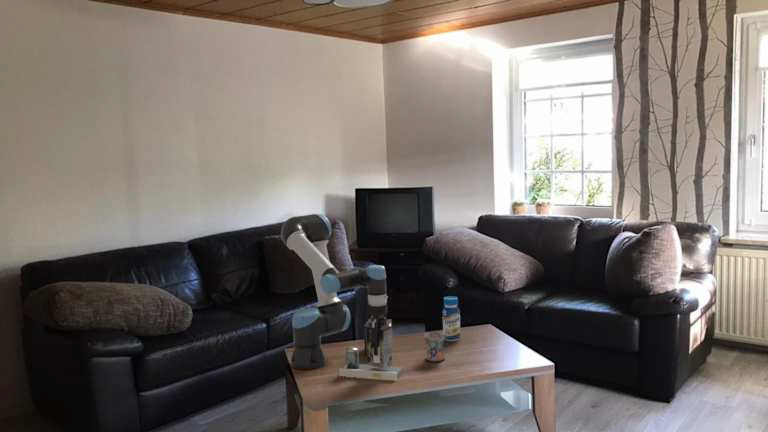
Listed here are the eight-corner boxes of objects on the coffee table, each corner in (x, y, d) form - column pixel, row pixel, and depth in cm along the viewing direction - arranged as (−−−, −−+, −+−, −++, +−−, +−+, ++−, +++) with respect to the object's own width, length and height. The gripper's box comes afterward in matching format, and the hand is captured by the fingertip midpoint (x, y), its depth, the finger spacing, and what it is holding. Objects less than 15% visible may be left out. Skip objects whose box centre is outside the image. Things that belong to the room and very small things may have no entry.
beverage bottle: (459, 335, 295) (458, 295, 293) (462, 341, 287) (460, 299, 285) (442, 336, 295) (440, 296, 293) (444, 342, 287) (442, 300, 285)
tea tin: (344, 369, 250) (343, 350, 249) (349, 365, 255) (348, 346, 254) (356, 370, 249) (355, 351, 248) (361, 365, 254) (360, 347, 253)
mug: (448, 362, 260) (447, 337, 258) (426, 363, 259) (425, 339, 257) (442, 353, 271) (441, 329, 270) (421, 354, 270) (420, 331, 269)
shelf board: (339, 376, 248) (339, 368, 248) (348, 368, 258) (347, 360, 257) (396, 380, 241) (395, 373, 240) (402, 371, 250) (402, 364, 250)
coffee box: (366, 365, 248) (365, 326, 247) (377, 360, 253) (375, 322, 252) (384, 369, 243) (382, 329, 241) (394, 364, 248) (392, 325, 246)
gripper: (378, 311, 234) (381, 368, 237) (394, 298, 254) (396, 351, 256) (360, 310, 237) (363, 367, 239) (377, 297, 256) (379, 350, 259)
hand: (380, 358), depth 248 cm, fingers closed on coffee box, 8 cm apart
